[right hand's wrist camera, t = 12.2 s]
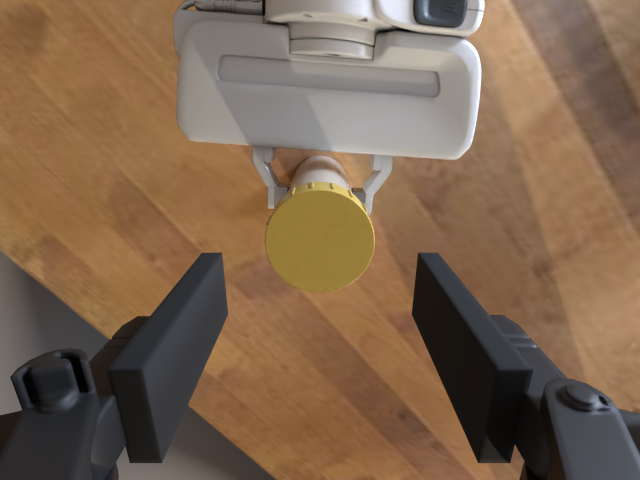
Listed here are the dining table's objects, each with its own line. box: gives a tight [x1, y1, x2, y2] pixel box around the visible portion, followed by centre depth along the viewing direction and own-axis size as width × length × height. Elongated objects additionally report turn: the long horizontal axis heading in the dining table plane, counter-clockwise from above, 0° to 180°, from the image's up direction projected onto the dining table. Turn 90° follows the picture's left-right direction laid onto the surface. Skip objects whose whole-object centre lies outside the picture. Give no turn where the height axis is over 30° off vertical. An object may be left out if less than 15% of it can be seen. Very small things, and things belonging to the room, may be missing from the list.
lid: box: [265, 181, 375, 293], centre depth 19 cm, size 6×6×2 cm
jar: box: [287, 156, 352, 193], centre depth 26 cm, size 5×5×16 cm
